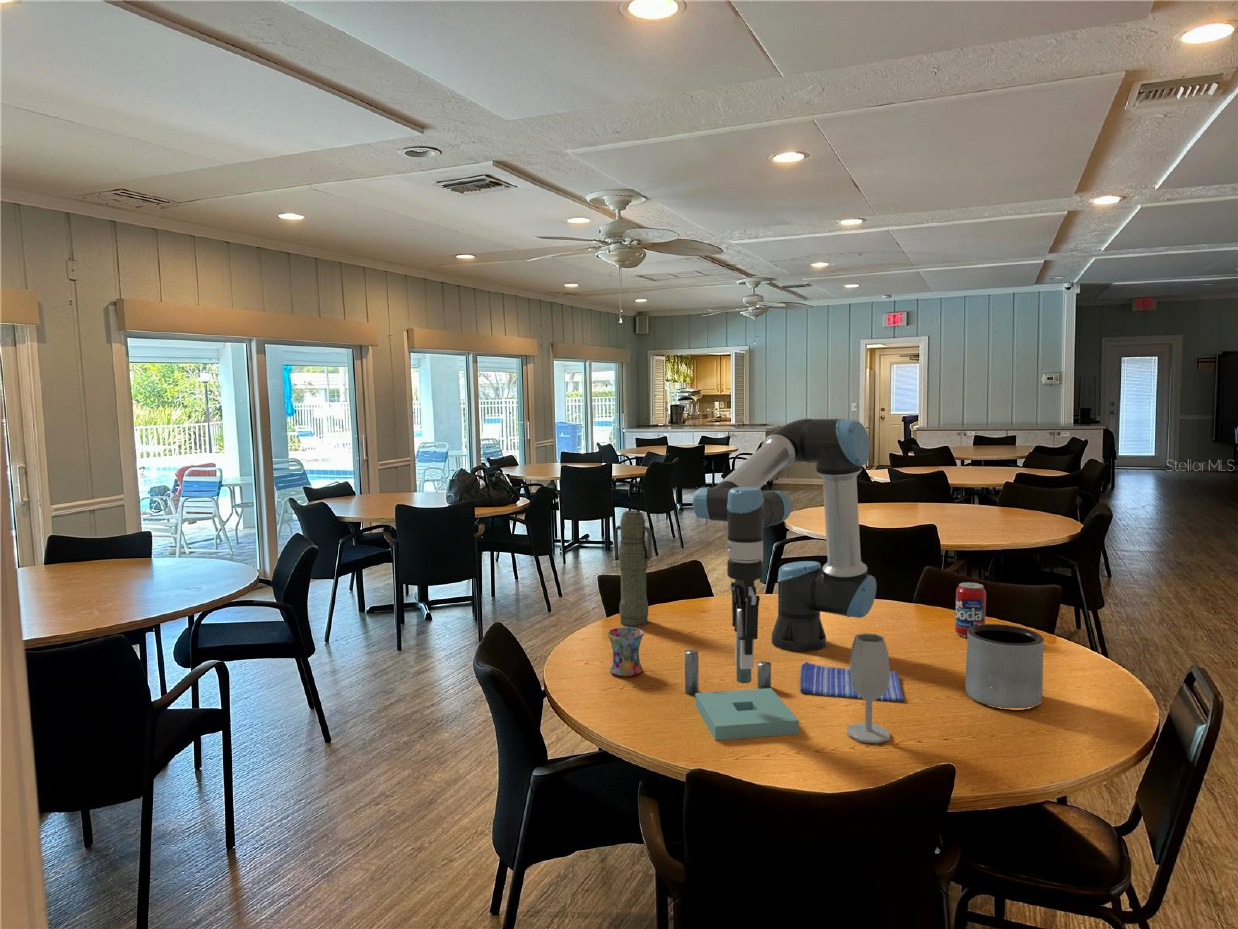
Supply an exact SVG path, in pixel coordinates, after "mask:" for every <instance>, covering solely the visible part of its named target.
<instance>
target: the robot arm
mask: <svg viewBox="0 0 1238 929" xmlns="http://www.w3.org/2000/svg"><path fill="white" fill-rule="evenodd" d="M870 451H871V444H870V438H869V435H868V431H867V429H866V427H865V426H864V425H863V424H862V423H861V422H860V421H859V420H856V419H855V420H854V419H845V418H802V419H798V420H794V421H792V422H788V423H787V424H784V425H782V426H781V427H779V428H778V429H776V430H774V431H773V432H771V433H770V434H769V435H767V437H765V438H764V439H763V441H762V443H761V447H760V448H758V449H757V450H756V451H755V452H754V453H753V454H751V455H750V456H749V457H748V458H747V459H745V460H744V461H743V462H742V463H740V465H739V466H738V467H736V468H735V469H734V470H733V471H732V472H731V473H729V474H728V475H727V476H726V477H725V478H723V480H721V481H720V482H719V483H718V484H716V486H714V487H710V486H707V487H700V488H698V489H697V490H696V491H695V493H694V495H693V498H692V507H693V513H694V514H695V515H696V517H698V518H700V519H703V520H709V521H718V522H719V521H720V522H727V544H725V549H726V550H727V557H728V558H729V559H727V562H726V564H727V566H726V569H727V571H726V572H727V573H726V574H727V576H728V578H730V579H732V580H734V582H731V583H730V588H731V616H732V619H731V620H732V624H731V625H732V627H733V628H734V632H735V645H734V646H735V648H734V649H735V663H736V664H737V608H739V607H740V608H741V619H742V637H739V640H741V651H740V668H741V669H751V670H752V669H755V668H754V665H755V662H754V660H755V659H754V658H755V657H754V655H755V654H754V653H755V652H754V649H755V640H757V639H758V637H759V636H758V634H759V631H758V629H759V626H758V625H759V606H760V599H761V598H760V595H757V587H756V586H755V581H757V580H759V579H761V578H762V577H763V573H764V572H763V569H764V568H763V564H764V563H763V560H762V559H763V558H764V538H763V537H764V535H763V534H764V528H767V527H771V526H777V525H779V524H781V523H782V522H784V521H786V520H787V519H788V518H789V517H790V515H791V512H792V505H791V501H790V498H789V496H787V494H785V493H783V492H782V491H779V490H768V491H763V490H762V489H761V488H762V487H763V486H764V485H765V484H766V483H767V482H768V481H769V480H771V478H773V477H774V476H775V475H776V474H777V473H778V472H779V471H780V470H781V469H785V468H788V467H790V466H791V465H792V464H797V463H808V464H810V463H811V464H815V470H816V471H815V472H816V473H817V475H819V476H820V477H821V478H822V490H823V505H824V522H825V523H824V524H825V538H826V539H825V540H826V541H825V542H826V554H827V561H826V563H825V564H823V566H822V565H821V563H820V562H819V561H814V560H813V561H812V560H811V561H809V560H805V561H804V560H802V561H801V560H800V561H794V562H789V563H785V564H783V565H781V566H780V567H779V568H778V576H777V618H776V621H775V624H774V627H773V629H772V632H771V644H773V645H774V646H775V647H777V648H780V649H783V650H785V651H792V652H814V651H820V650H823V649H824V648H826V646H827V635H826V633H825V629H824V626H823V623H822V620H821V613H827V614H832V615H838V616H842V617H847V618H858V619H861V618H862V619H863V618H865V617H866V616H867V615H868V614H869V613H870V611H871V609H872V607H873V604H874V602H875V598H876V594H877V581H876V578H875V577H874V576H872V575H871V574H868V566H867V564H865V563H863V561H862V557H861V540H860V538H861V536H860V520H859V516H860V515H859V503H858V502H859V501H858V500H859V499H858V483H857V482H858V481H857V478H858V477H857V476H858V475H859V474H860V473H861V472H862V470H863V466H864V465H866V464H867V462H869V458H870Z"/></svg>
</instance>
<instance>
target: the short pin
mask: <svg viewBox="0 0 1238 929" xmlns="http://www.w3.org/2000/svg"><path fill="white" fill-rule="evenodd" d="M765 688H771V689H772V663H771V662H769V661H763V660H762V661H761V660H760V661H758V662H757V689H765Z"/></svg>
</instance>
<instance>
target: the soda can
mask: <svg viewBox="0 0 1238 929" xmlns="http://www.w3.org/2000/svg"><path fill="white" fill-rule="evenodd" d="M986 605H987V590H985V588H984V585H983V584H980V583H977V582H966V581H965V582H961V583H959V584H958V587H957V588H956V590H955V621H954V622H955V625H954V626H955V627H954V630H955V633H956V634H957V635H959V636H960V635H962V636H965V637H967V633H968V629H969V628H970V627H973V626H976V625H982V624H986ZM962 636H961V637H962ZM965 637H964V638H965Z"/></svg>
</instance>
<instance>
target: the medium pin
mask: <svg viewBox="0 0 1238 929" xmlns="http://www.w3.org/2000/svg"><path fill="white" fill-rule="evenodd" d="M699 688H700V686H699V650H697V649H686V650H685V651H684V694H686V695H690V696H693V695H694V696H695V693H700V691H699Z"/></svg>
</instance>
